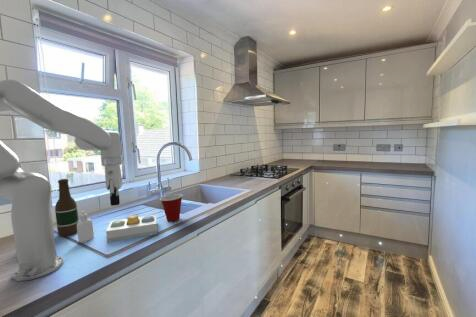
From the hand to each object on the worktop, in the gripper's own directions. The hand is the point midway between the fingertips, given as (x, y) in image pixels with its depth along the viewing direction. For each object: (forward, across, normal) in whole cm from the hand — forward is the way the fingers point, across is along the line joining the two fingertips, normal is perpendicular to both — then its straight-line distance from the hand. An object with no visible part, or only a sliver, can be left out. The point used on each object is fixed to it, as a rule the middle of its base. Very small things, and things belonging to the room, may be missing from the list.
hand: (115, 204), depth 100 cm
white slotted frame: (+13, 0, -6) cm, 15 cm away
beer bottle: (+13, +11, +21) cm, 27 cm away
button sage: (+11, 0, 0) cm, 11 cm away
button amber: (+10, 0, -6) cm, 12 cm away
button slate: (+11, 0, -12) cm, 17 cm away
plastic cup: (+13, +8, -23) cm, 28 cm away
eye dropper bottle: (+13, 0, +12) cm, 18 cm away
